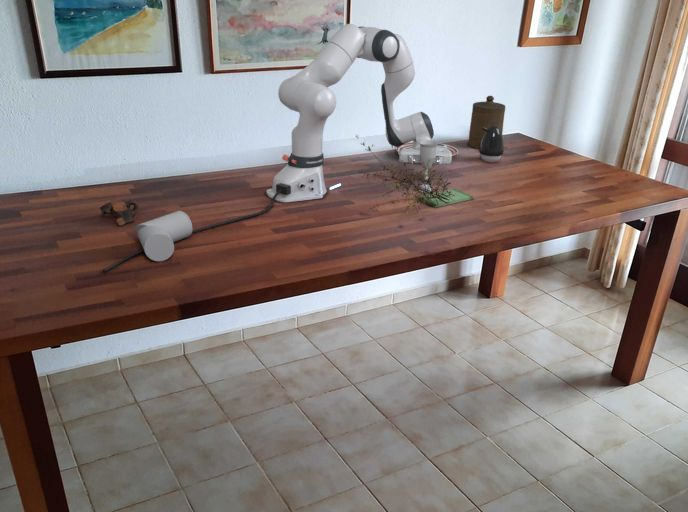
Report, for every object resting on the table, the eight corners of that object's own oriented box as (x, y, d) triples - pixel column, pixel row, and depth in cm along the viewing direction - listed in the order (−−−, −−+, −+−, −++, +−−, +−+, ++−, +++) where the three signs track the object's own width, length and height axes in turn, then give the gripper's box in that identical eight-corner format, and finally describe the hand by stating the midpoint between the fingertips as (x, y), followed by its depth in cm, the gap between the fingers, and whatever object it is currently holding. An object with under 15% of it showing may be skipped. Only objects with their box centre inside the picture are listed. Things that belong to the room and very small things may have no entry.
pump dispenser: (475, 157, 304) (479, 122, 297) (498, 157, 306) (502, 122, 298) (481, 164, 296) (485, 128, 288) (504, 164, 297) (509, 128, 289)
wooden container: (491, 140, 331) (497, 92, 319) (506, 148, 319) (513, 98, 307) (462, 142, 326) (467, 93, 315) (477, 150, 314) (483, 100, 303)
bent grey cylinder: (127, 235, 215) (138, 260, 200) (131, 202, 211) (141, 225, 195) (185, 239, 223) (199, 264, 208) (189, 208, 219) (204, 230, 203)
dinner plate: (397, 145, 318) (398, 138, 316) (457, 149, 315) (458, 142, 314) (392, 162, 295) (392, 154, 293) (457, 167, 292) (458, 159, 290)
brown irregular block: (112, 230, 223) (98, 206, 221) (108, 233, 232) (96, 210, 230) (145, 214, 228) (133, 190, 226) (141, 218, 236) (129, 195, 234)
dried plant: (450, 150, 248) (346, 103, 223) (497, 183, 225) (386, 135, 200) (410, 225, 260) (307, 188, 235) (450, 264, 237) (341, 228, 212)
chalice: (427, 194, 260) (431, 146, 251) (412, 191, 263) (415, 142, 254) (437, 190, 265) (442, 142, 256) (422, 186, 268) (426, 139, 259)
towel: (435, 207, 248) (435, 204, 248) (417, 199, 255) (417, 196, 255) (472, 199, 257) (472, 195, 257) (454, 191, 264) (454, 188, 264)
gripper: (398, 143, 274) (399, 152, 262) (450, 145, 274) (453, 155, 262) (397, 159, 277) (398, 169, 265) (449, 161, 277) (451, 171, 265)
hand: (426, 162), depth 263 cm, fingers open, 8 cm apart
